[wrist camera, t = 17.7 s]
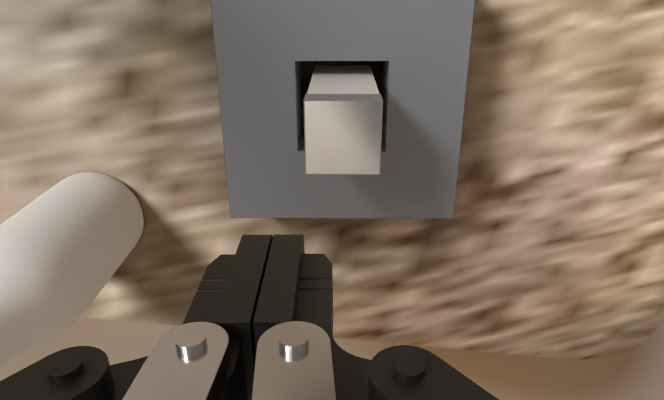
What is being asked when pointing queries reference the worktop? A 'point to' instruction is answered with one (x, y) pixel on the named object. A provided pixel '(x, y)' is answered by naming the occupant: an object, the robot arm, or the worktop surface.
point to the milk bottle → (61, 257)
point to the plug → (342, 121)
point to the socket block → (397, 93)
